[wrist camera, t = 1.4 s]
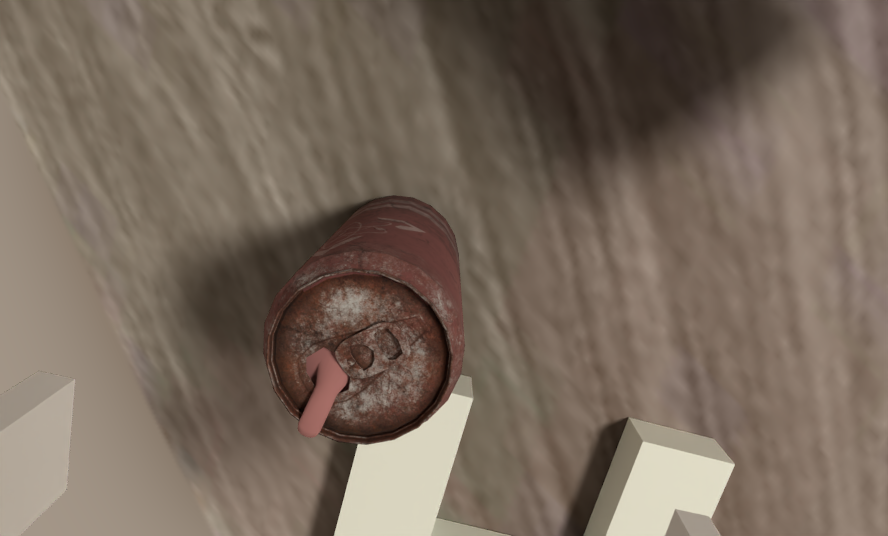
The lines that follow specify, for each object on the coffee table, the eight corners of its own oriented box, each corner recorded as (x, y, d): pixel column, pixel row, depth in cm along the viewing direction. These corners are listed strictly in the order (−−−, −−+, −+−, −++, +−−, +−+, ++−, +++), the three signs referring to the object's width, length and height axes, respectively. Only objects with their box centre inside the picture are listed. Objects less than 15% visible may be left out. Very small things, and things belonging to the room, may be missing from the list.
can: (319, 284, 31) (219, 415, 18) (368, 174, 30) (300, 223, 16) (424, 332, 32) (406, 494, 18) (477, 226, 30) (501, 315, 17)
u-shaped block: (381, 354, 32) (376, 374, 30) (713, 438, 33) (735, 464, 31) (322, 580, 36) (313, 614, 33) (624, 649, 37) (636, 687, 34)
